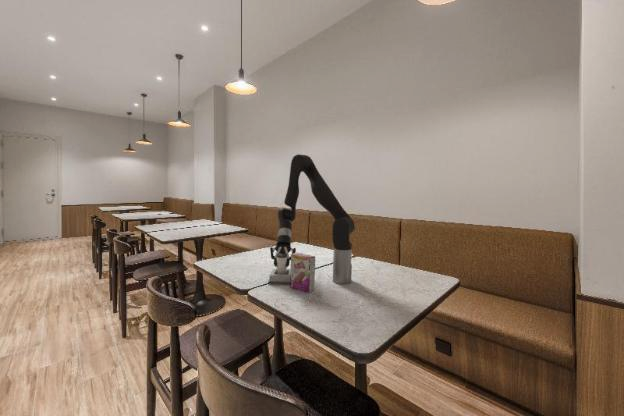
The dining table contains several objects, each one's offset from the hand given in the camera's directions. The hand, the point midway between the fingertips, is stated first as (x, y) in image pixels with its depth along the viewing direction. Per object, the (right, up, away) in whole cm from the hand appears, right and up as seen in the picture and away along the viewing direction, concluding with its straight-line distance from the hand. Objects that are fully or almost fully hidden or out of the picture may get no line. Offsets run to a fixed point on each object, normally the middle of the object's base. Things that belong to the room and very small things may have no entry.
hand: (281, 266), depth 136 cm
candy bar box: (+11, -9, -9) cm, 17 cm away
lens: (0, -4, +2) cm, 5 cm away
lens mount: (0, -8, +2) cm, 8 cm away
